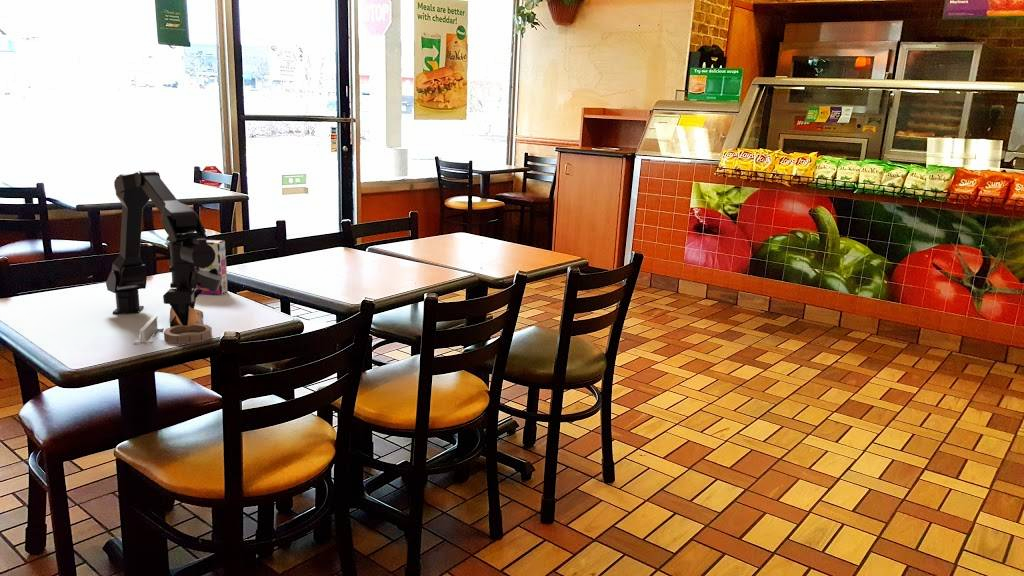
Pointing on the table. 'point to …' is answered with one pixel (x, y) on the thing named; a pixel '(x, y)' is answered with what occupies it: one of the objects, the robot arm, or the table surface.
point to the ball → (190, 318)
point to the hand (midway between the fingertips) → (187, 322)
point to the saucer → (187, 334)
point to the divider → (148, 331)
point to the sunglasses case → (174, 322)
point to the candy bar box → (217, 267)
